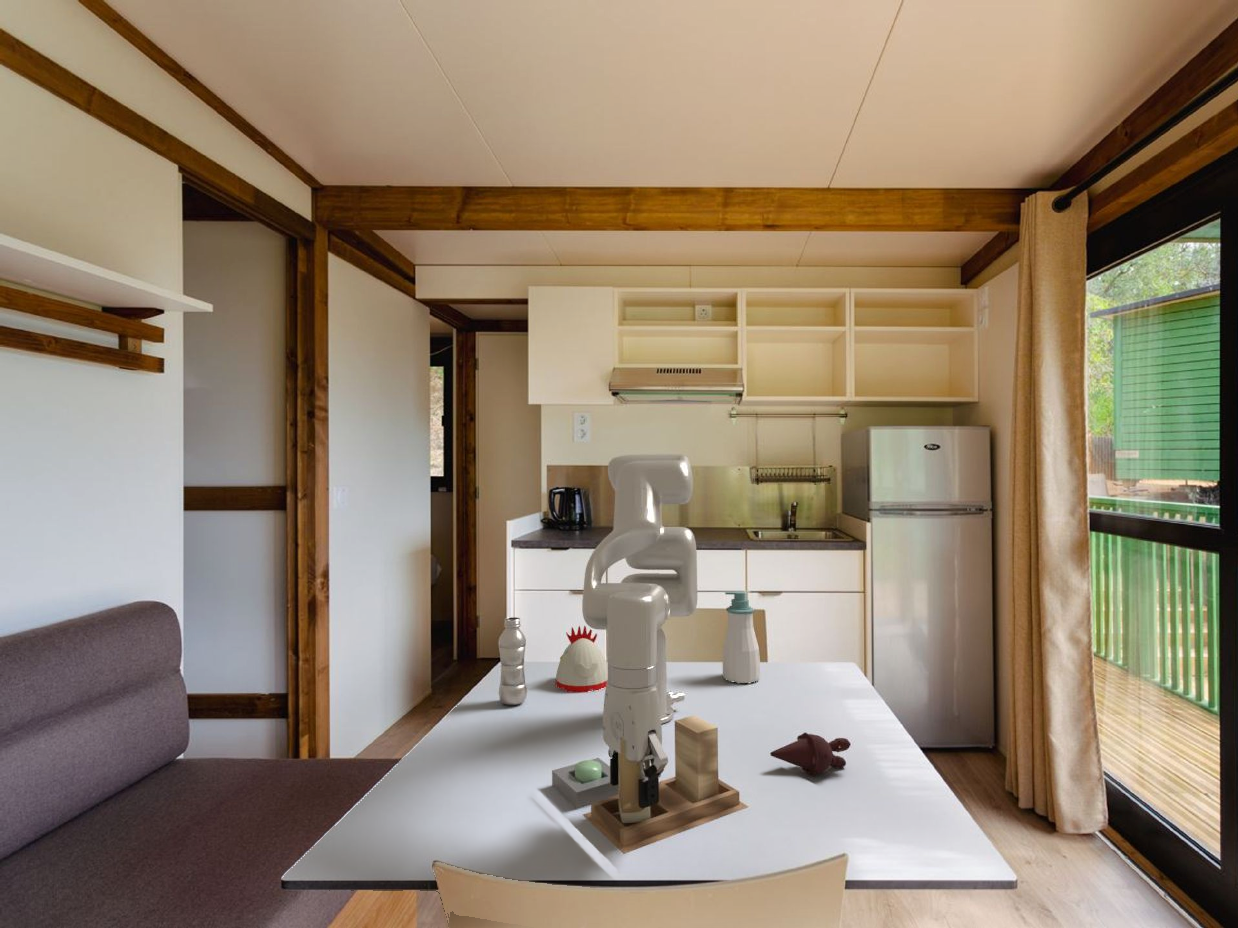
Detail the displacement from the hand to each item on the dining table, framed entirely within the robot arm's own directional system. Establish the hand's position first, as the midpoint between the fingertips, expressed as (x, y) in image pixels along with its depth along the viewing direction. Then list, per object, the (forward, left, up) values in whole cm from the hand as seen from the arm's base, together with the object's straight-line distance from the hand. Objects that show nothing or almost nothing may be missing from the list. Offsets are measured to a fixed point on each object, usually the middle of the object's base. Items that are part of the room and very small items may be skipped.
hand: (633, 792), depth 93 cm
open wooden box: (-6, 0, -5) cm, 8 cm away
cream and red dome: (-26, -65, -6) cm, 70 cm away
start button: (+1, -12, -4) cm, 13 cm away
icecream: (-36, +2, -6) cm, 37 cm away
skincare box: (0, 0, -3) cm, 3 cm away
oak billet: (-12, 0, -4) cm, 13 cm away
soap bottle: (-63, -45, -5) cm, 77 cm away
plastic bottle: (-5, -61, -5) cm, 61 cm away
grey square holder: (+1, -12, -5) cm, 13 cm away
